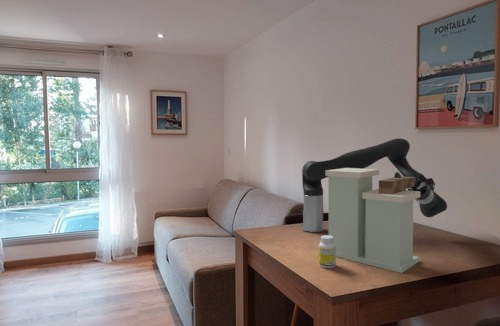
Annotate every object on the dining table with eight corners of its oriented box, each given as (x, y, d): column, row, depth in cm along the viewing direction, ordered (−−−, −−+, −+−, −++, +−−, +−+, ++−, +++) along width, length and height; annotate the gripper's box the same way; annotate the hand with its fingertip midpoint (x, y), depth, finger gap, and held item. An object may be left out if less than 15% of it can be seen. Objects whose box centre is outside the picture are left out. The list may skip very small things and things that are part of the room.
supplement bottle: (323, 261, 129) (323, 233, 128) (338, 265, 125) (338, 236, 124) (316, 266, 124) (316, 237, 124) (331, 269, 121) (331, 239, 120)
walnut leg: (391, 194, 120) (391, 181, 120) (378, 193, 123) (378, 180, 123) (416, 187, 136) (416, 175, 135) (404, 186, 139) (404, 175, 139)
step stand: (401, 273, 117) (403, 175, 115) (325, 253, 137) (325, 170, 135) (419, 261, 127) (420, 171, 125) (346, 245, 148) (346, 167, 146)
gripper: (405, 182, 151) (391, 165, 141) (441, 184, 141) (429, 166, 131) (401, 198, 149) (386, 182, 139) (438, 202, 139) (425, 185, 129)
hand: (407, 174), depth 135 cm, fingers open, 8 cm apart
